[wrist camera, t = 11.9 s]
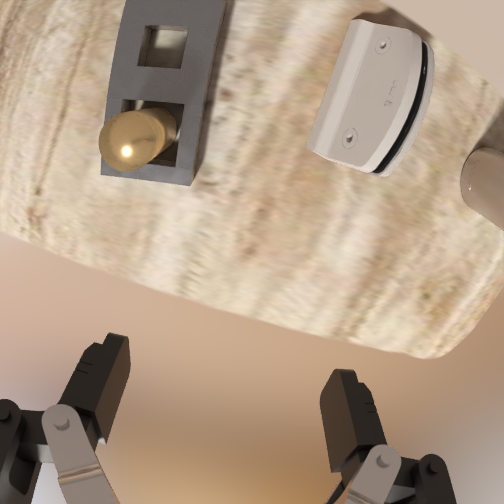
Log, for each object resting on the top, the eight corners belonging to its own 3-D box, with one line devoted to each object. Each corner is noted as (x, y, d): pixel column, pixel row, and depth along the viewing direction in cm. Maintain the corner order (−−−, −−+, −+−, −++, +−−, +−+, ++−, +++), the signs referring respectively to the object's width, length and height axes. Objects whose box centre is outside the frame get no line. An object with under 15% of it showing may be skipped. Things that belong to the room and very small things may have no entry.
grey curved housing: (352, 16, 25) (421, 14, 18) (382, 36, 28) (450, 42, 20) (303, 150, 33) (361, 184, 25) (336, 161, 35) (395, 195, 27)
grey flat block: (226, 4, 25) (225, -3, 23) (193, 179, 34) (189, 186, 32) (135, -1, 24) (127, -7, 21) (109, 169, 33) (100, 174, 30)
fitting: (180, 109, 30) (158, 114, 22) (173, 154, 32) (151, 175, 24) (135, 105, 30) (101, 110, 22) (130, 149, 32) (96, 168, 24)
